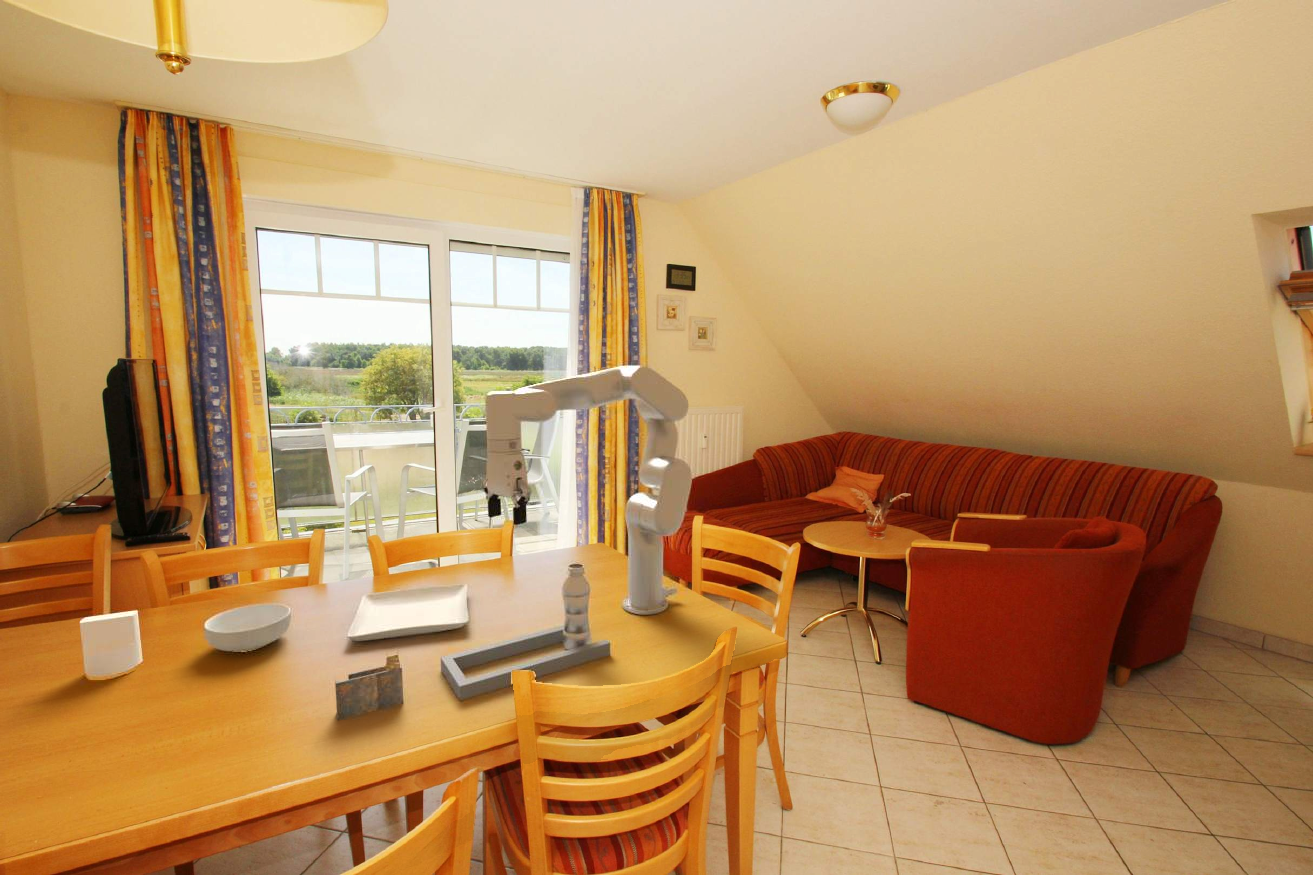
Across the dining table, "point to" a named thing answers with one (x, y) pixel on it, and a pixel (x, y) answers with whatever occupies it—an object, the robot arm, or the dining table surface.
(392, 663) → the ruin model on sheet
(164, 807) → the dining table surface
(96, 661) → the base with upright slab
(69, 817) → the dining table surface
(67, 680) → the dining table surface
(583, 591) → the plastic bottle
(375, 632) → the square plate
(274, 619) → the cereal bowl
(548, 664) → the u rest
